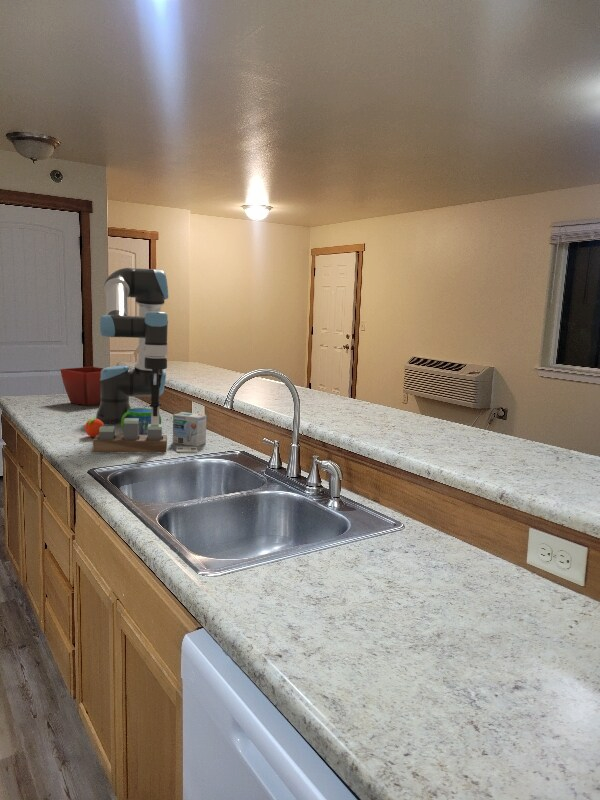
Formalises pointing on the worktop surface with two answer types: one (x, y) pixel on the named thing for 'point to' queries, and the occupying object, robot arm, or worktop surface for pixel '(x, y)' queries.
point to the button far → (155, 432)
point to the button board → (129, 444)
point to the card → (187, 449)
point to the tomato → (93, 427)
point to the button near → (107, 432)
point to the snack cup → (140, 418)
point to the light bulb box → (189, 428)
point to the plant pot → (83, 385)
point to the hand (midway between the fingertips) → (155, 424)
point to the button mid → (131, 428)
